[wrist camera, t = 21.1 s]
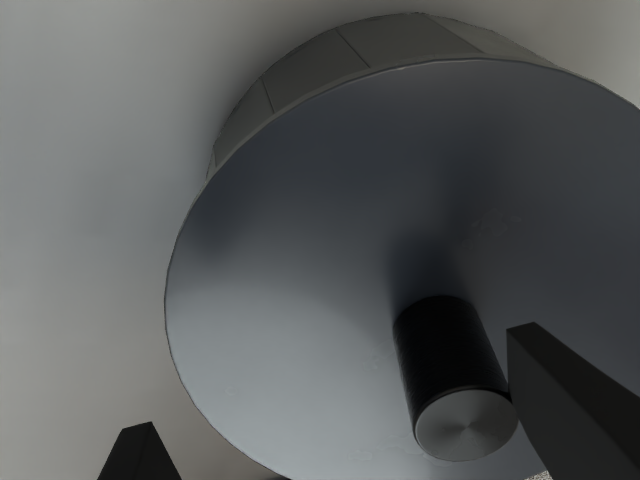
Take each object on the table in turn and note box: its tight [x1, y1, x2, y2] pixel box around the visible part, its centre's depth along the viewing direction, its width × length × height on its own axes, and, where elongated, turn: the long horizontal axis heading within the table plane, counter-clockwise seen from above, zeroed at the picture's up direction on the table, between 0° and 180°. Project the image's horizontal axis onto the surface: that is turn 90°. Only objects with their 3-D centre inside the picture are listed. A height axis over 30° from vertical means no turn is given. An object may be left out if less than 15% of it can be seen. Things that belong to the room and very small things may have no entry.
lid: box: [164, 53, 640, 480], centre depth 15 cm, size 15×15×4 cm
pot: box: [206, 12, 557, 181], centre depth 20 cm, size 14×14×6 cm
